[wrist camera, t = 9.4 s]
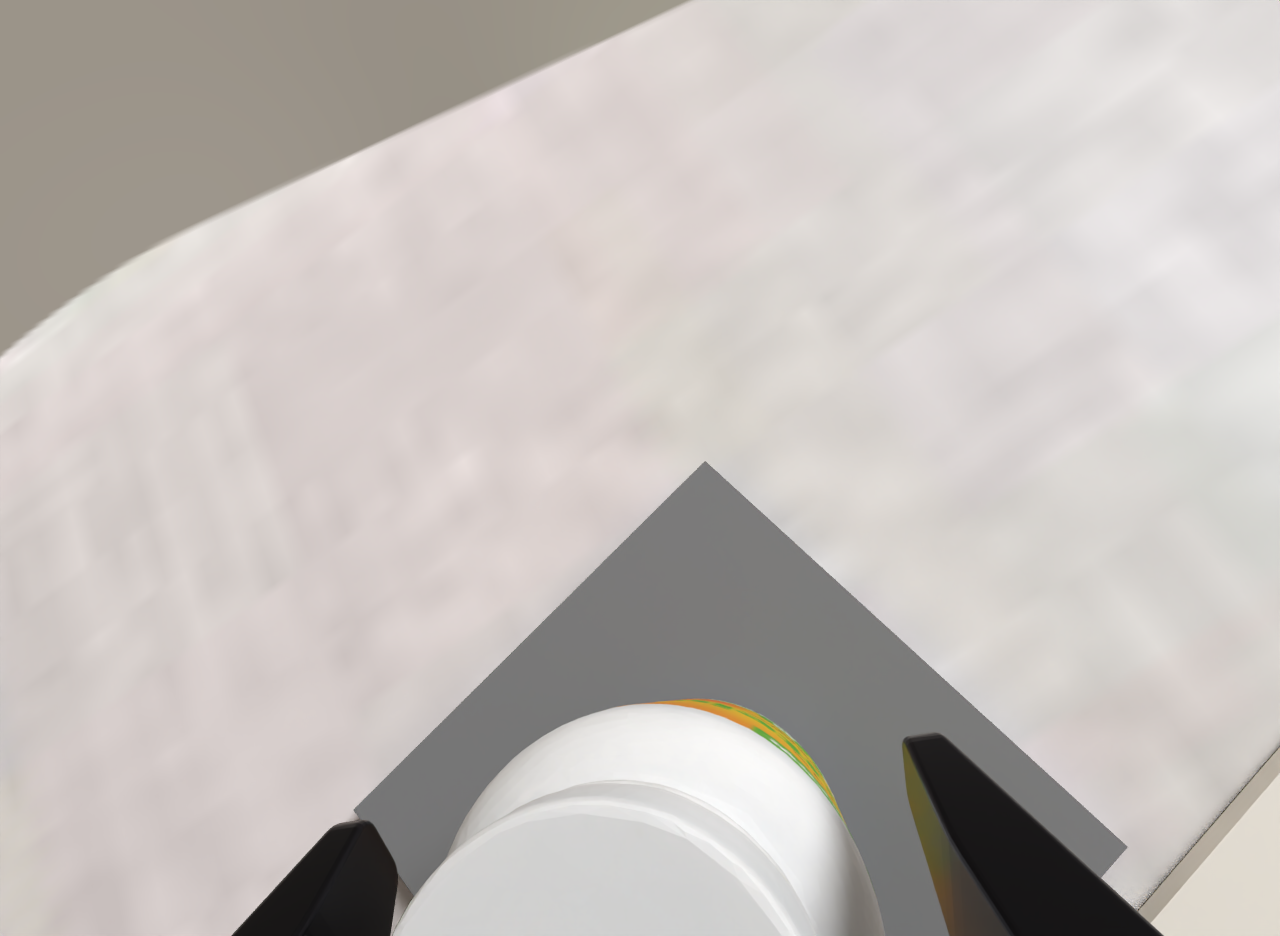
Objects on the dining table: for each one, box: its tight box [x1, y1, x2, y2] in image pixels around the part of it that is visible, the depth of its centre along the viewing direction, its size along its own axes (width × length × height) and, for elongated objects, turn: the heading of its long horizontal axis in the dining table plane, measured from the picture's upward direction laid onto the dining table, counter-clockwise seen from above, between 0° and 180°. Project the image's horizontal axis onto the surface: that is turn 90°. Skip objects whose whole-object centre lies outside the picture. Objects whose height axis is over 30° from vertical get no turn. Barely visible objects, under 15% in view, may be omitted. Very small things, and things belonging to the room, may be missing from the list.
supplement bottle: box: [392, 699, 885, 936], centre depth 10 cm, size 5×5×10 cm
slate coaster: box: [354, 461, 1127, 936], centre depth 15 cm, size 11×11×1 cm
